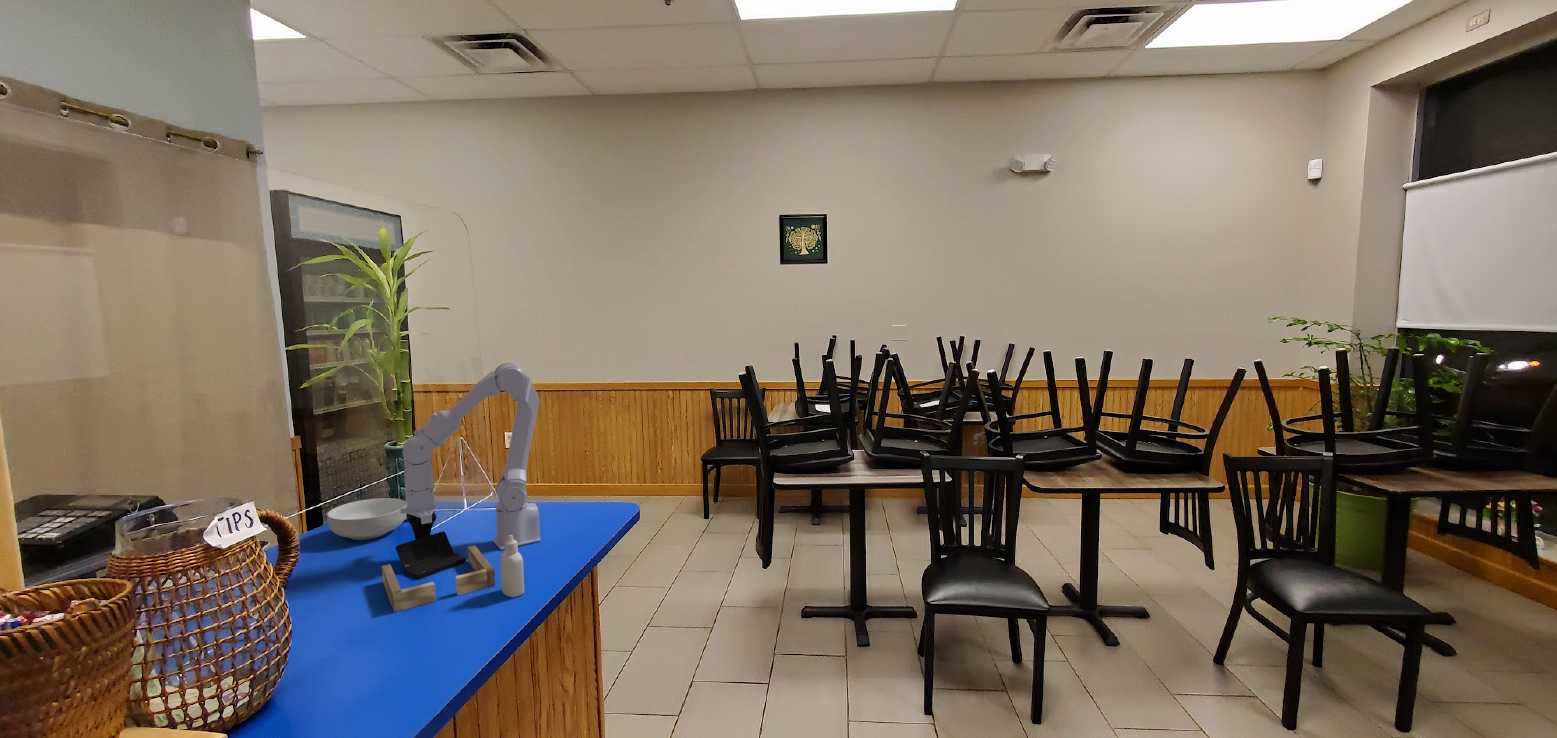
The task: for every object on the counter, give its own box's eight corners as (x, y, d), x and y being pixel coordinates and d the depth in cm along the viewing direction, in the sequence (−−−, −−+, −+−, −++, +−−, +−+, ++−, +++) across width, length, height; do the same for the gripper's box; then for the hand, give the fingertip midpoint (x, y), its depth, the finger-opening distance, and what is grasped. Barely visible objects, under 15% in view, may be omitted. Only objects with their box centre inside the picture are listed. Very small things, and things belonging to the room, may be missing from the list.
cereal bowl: (350, 552, 144) (348, 523, 143) (315, 539, 152) (313, 511, 151) (422, 529, 159) (420, 503, 158) (386, 518, 167) (385, 493, 166)
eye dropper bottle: (525, 584, 127) (522, 529, 126) (523, 596, 122) (521, 539, 121) (502, 588, 126) (499, 532, 125) (500, 600, 121) (497, 542, 120)
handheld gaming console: (425, 573, 129) (408, 531, 131) (405, 589, 131) (389, 547, 134) (472, 560, 139) (455, 522, 142) (453, 575, 141) (437, 537, 144)
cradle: (475, 560, 140) (474, 545, 139) (495, 585, 127) (494, 569, 127) (382, 581, 128) (381, 566, 128) (394, 612, 116) (393, 594, 115)
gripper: (394, 483, 143) (398, 539, 144) (404, 499, 131) (407, 559, 133) (429, 478, 147) (431, 533, 148) (441, 493, 136) (444, 551, 137)
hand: (422, 545), depth 141 cm, fingers closed
